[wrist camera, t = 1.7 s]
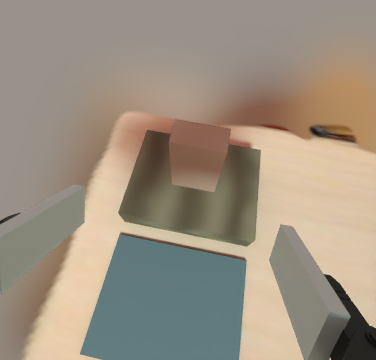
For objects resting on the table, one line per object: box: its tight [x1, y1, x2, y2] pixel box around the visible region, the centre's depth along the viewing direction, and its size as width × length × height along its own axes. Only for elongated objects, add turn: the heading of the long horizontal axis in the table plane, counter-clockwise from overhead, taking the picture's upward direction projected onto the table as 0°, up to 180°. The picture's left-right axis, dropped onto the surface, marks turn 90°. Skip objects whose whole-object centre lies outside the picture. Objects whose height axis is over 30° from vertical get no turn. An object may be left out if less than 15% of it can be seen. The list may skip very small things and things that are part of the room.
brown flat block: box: [118, 130, 261, 246], centre depth 35 cm, size 18×14×4 cm
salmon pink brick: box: [169, 120, 231, 192], centre depth 28 cm, size 6×3×10 cm, turn 79°
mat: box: [80, 234, 247, 360], centre depth 29 cm, size 18×14×1 cm
